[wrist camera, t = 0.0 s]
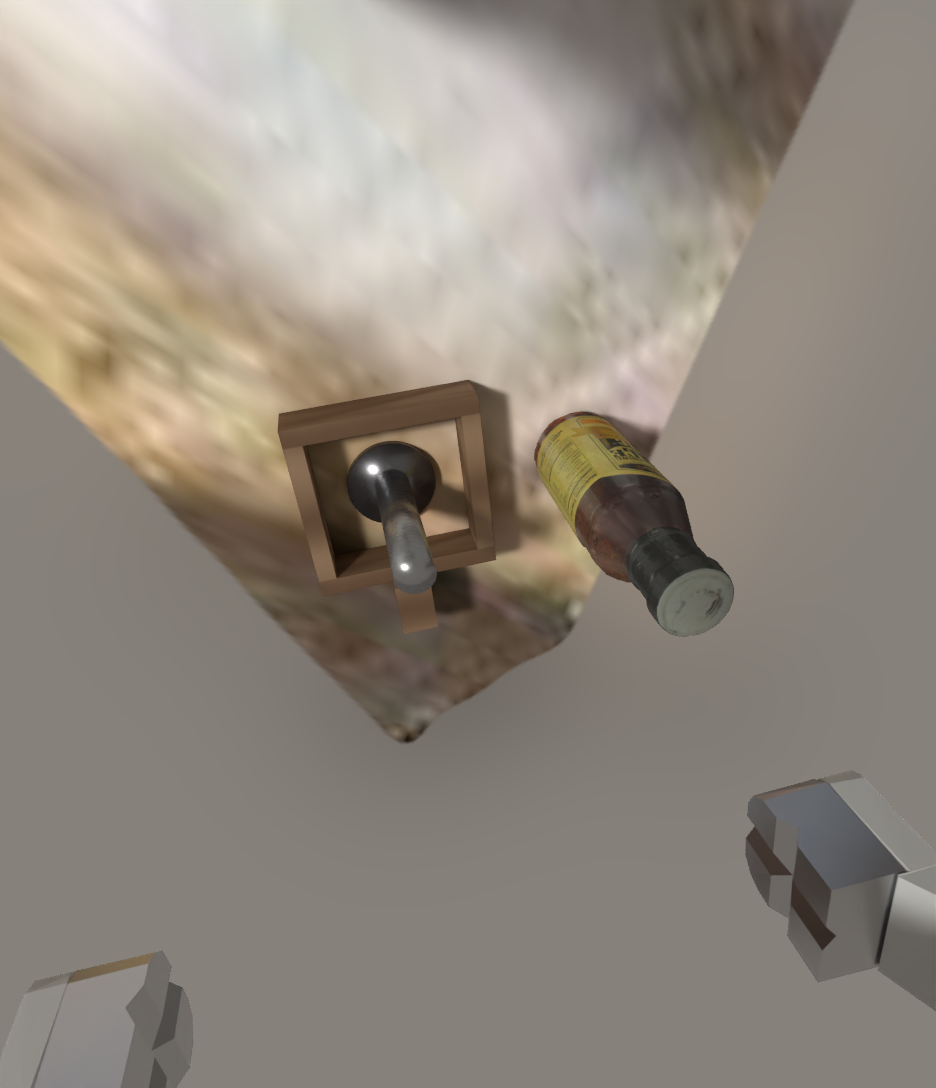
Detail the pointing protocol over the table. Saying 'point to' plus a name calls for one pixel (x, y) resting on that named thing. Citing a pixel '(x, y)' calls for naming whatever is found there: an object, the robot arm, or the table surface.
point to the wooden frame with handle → (378, 417)
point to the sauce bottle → (632, 522)
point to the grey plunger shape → (397, 507)
